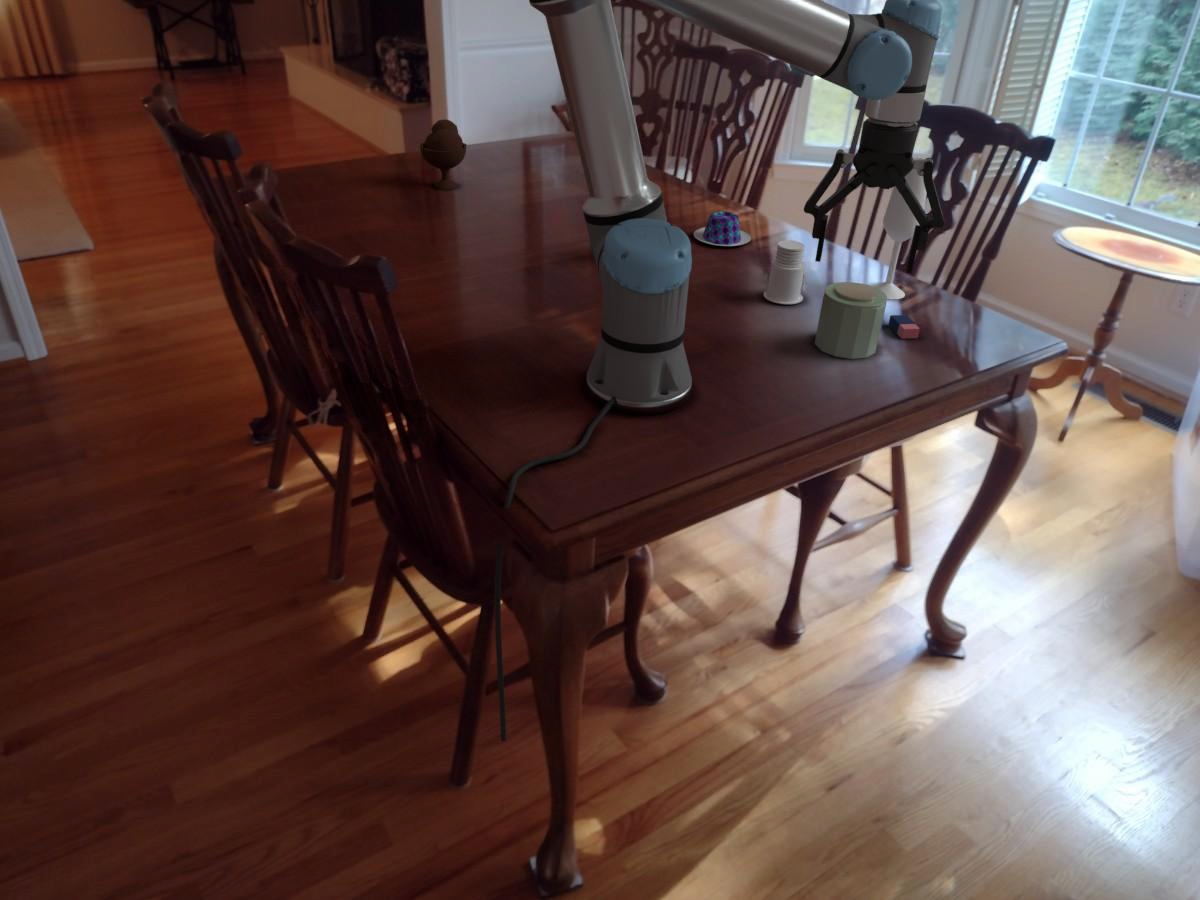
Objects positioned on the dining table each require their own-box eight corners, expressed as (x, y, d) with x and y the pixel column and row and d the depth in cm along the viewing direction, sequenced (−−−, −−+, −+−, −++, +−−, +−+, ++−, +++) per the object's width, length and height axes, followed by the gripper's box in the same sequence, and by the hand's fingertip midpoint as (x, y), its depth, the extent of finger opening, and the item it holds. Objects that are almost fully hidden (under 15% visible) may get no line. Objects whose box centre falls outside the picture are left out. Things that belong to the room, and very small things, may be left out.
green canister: (874, 362, 136) (887, 306, 131) (812, 353, 139) (822, 297, 133) (876, 337, 144) (888, 284, 139) (817, 329, 146) (827, 275, 141)
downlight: (770, 307, 153) (779, 253, 148) (754, 292, 159) (761, 239, 154) (811, 304, 155) (821, 250, 150) (794, 289, 161) (802, 236, 155)
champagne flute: (860, 287, 163) (888, 156, 150) (890, 283, 165) (920, 154, 152) (882, 301, 157) (913, 166, 144) (912, 297, 160) (945, 164, 146)
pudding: (723, 226, 190) (725, 202, 187) (762, 242, 182) (765, 218, 179) (681, 236, 183) (683, 211, 181) (720, 253, 175) (723, 228, 173)
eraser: (917, 338, 145) (920, 327, 144) (901, 338, 144) (904, 328, 143) (903, 324, 149) (906, 314, 148) (887, 324, 149) (890, 314, 148)
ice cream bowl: (417, 182, 210) (412, 117, 202) (461, 178, 214) (458, 114, 206) (429, 194, 202) (424, 127, 194) (475, 190, 206) (472, 124, 198)
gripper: (983, 122, 123) (946, 266, 134) (804, 107, 128) (784, 246, 140) (986, 134, 117) (948, 283, 128) (799, 118, 122) (778, 262, 134)
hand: (863, 264), depth 134 cm, fingers open, 13 cm apart
